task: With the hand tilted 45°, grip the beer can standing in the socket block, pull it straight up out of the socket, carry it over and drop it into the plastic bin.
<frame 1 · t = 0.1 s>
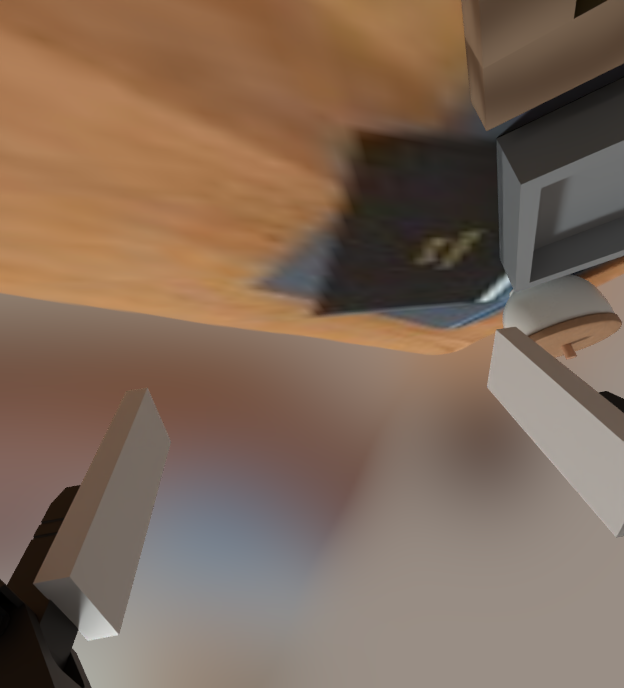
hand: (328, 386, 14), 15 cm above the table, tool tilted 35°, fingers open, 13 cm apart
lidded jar: (535, 284, 45), on the table
bin: (611, 164, 28), on the table
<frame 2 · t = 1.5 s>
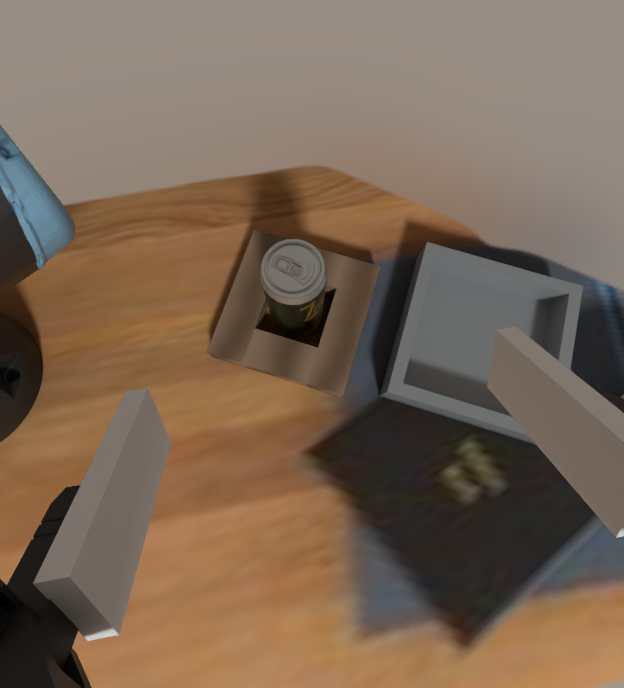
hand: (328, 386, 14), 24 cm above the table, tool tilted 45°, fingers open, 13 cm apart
socket block: (297, 315, 41), on the table
beer can: (297, 316, 41), resting in socket block
bin: (471, 346, 40), on the table
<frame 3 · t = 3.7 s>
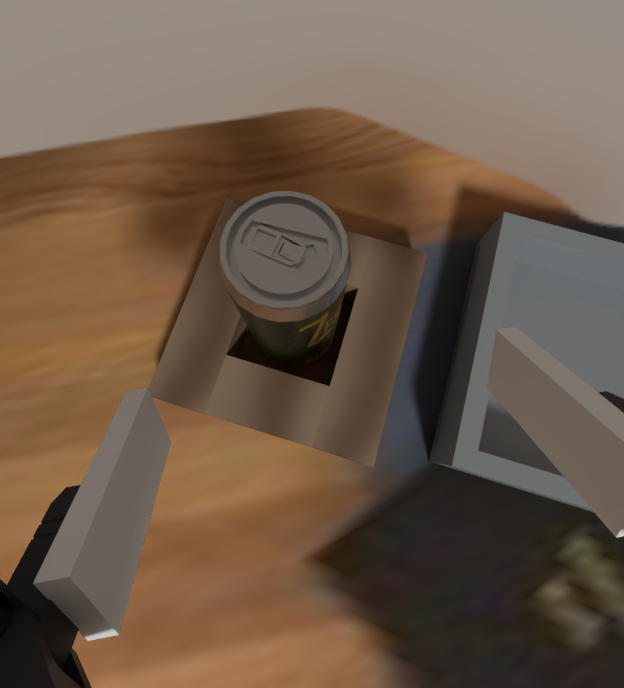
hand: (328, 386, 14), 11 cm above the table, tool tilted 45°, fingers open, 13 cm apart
socket block: (295, 331, 26), on the table
beer can: (295, 332, 26), resting in socket block
bin: (571, 378, 25), on the table
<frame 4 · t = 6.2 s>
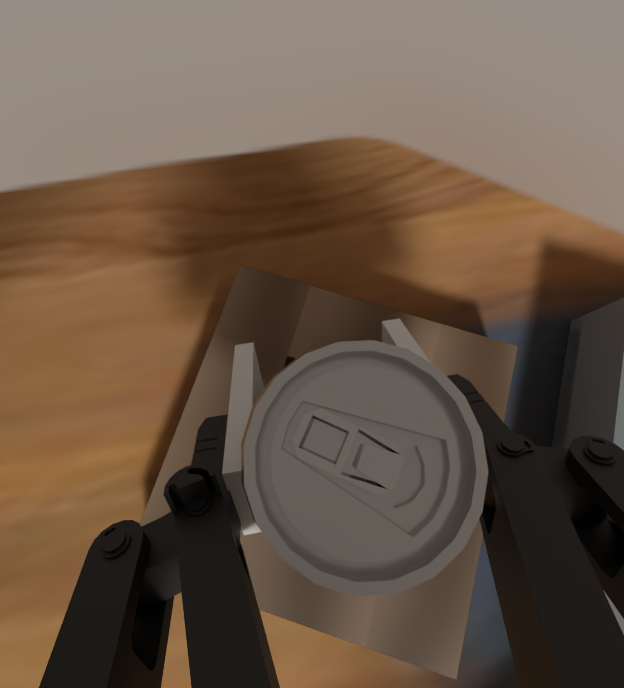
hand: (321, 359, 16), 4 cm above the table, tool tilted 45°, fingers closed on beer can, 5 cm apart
socket block: (331, 445, 19), on the table
beer can: (331, 445, 19), resting in socket block, touching gripper
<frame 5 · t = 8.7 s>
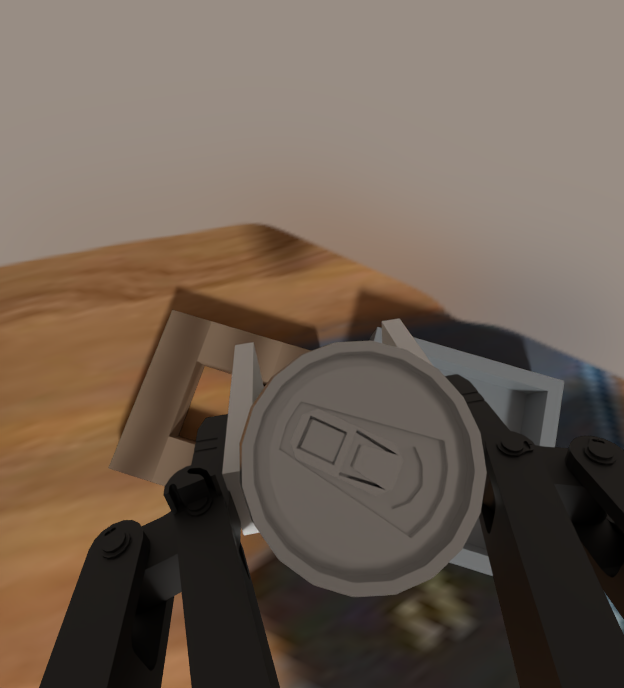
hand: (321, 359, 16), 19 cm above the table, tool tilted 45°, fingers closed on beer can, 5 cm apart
socket block: (226, 410, 34), on the table
beer can: (330, 445, 19), point 15 cm above the table, touching gripper
bin: (433, 446, 34), on the table
when the fingers open (7 cm above the table, at t = 11.5 s): beer can drops 2 cm, resting on bin.
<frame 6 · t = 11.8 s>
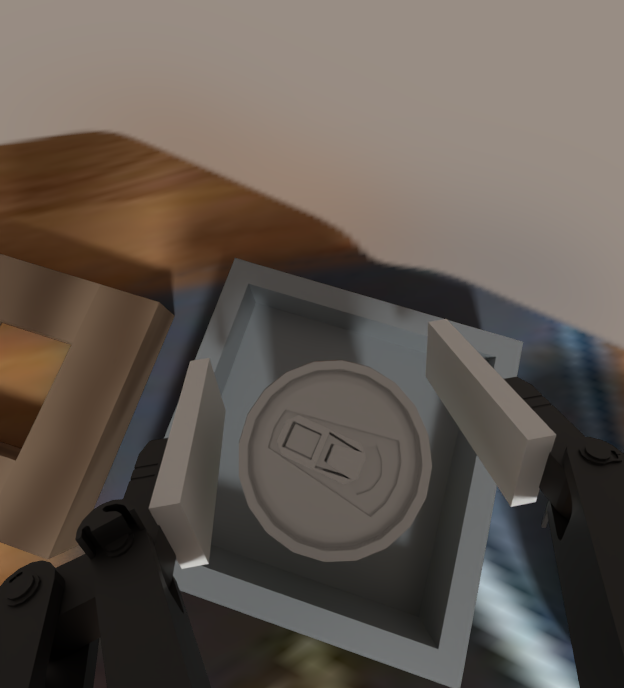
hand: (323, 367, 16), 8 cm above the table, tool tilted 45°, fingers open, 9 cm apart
socket block: (24, 387, 23), on the table
beer can: (329, 445, 21), point 1 cm above the table, touching bin
bin: (328, 444, 22), on the table
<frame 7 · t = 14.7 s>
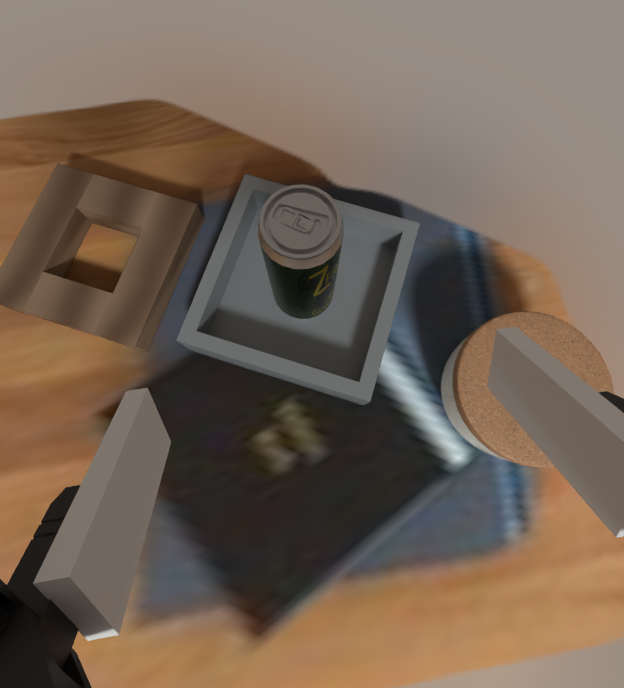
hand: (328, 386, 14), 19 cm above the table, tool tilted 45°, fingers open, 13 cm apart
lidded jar: (483, 396, 33), on the table
socket block: (108, 261, 36), on the table
beer can: (303, 293, 34), point 1 cm above the table, touching bin
bin: (303, 296, 35), on the table
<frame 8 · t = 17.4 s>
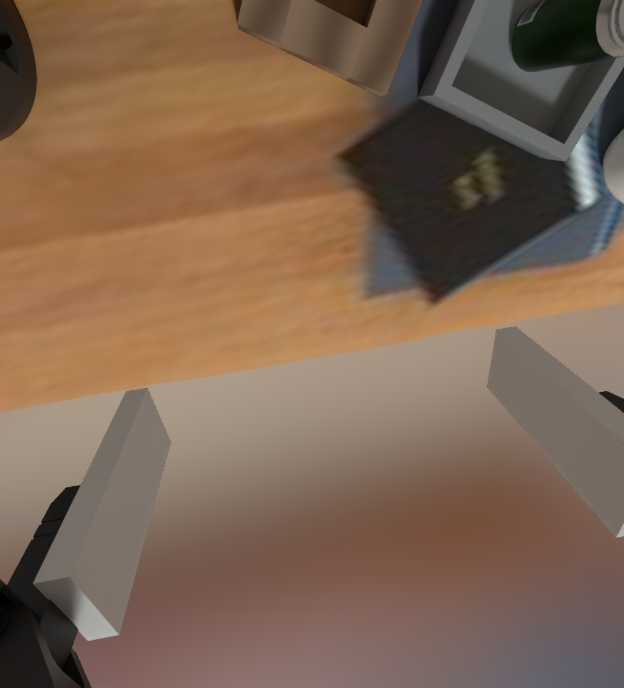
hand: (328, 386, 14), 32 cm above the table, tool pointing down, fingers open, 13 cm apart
beer can: (533, 38, 35), point 1 cm above the table, touching bin
bin: (528, 39, 36), on the table
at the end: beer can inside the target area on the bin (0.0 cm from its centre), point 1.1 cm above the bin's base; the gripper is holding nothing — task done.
